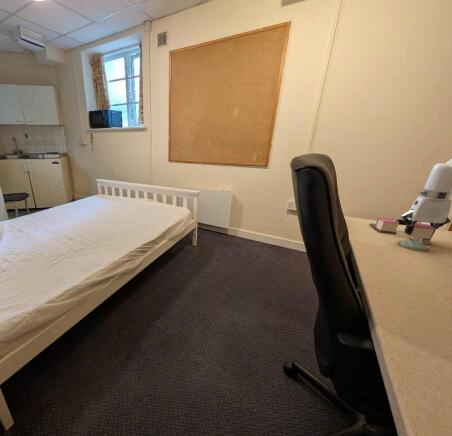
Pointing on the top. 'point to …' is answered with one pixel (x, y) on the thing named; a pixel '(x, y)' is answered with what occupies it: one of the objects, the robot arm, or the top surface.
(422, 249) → the plate
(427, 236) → the cake slice
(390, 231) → the cake board
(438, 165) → the robot arm
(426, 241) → the pill bottle
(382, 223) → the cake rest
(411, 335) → the top surface
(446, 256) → the top surface
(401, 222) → the knife
